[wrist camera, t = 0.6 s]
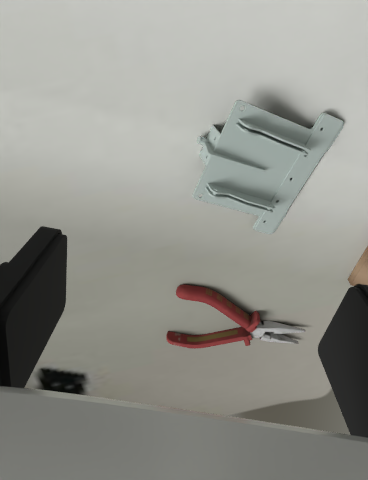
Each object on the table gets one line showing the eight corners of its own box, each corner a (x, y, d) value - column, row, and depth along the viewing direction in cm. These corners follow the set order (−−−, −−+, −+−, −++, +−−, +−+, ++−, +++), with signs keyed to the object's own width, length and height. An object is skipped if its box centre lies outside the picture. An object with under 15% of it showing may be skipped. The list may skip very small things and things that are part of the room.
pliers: (287, 355, 55) (290, 368, 53) (165, 334, 54) (164, 347, 52) (313, 303, 49) (318, 315, 47) (178, 278, 48) (177, 290, 46)
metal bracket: (181, 220, 37) (246, 78, 29) (171, 193, 41) (225, 65, 34) (285, 244, 42) (362, 131, 35) (266, 218, 47) (331, 113, 39)
